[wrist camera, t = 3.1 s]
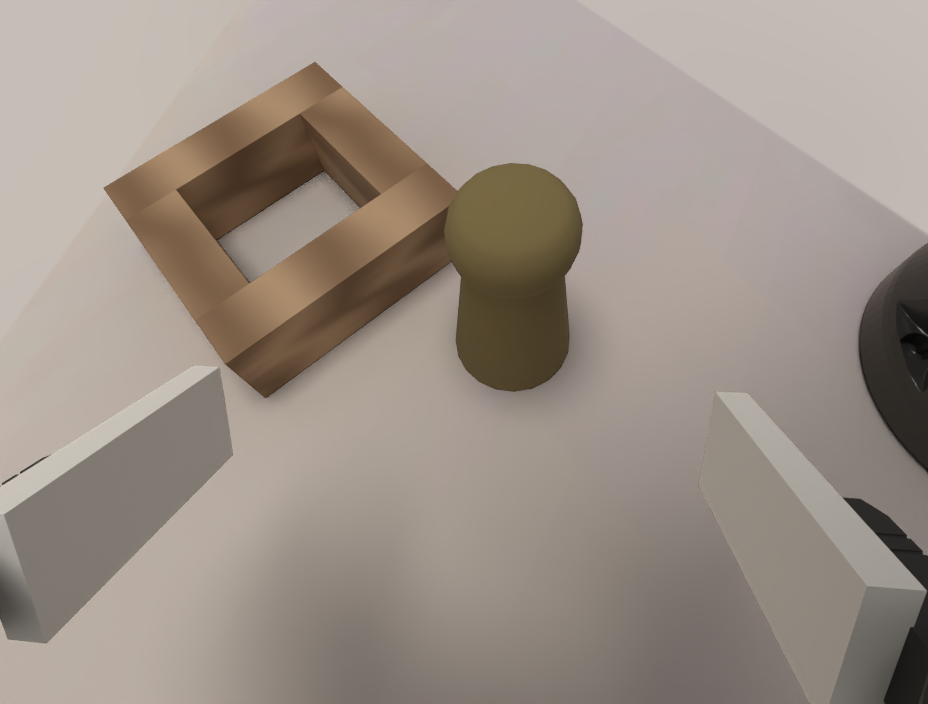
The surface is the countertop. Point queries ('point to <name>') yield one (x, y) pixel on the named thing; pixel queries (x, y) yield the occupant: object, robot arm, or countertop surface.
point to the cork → (513, 273)
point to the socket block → (264, 182)
